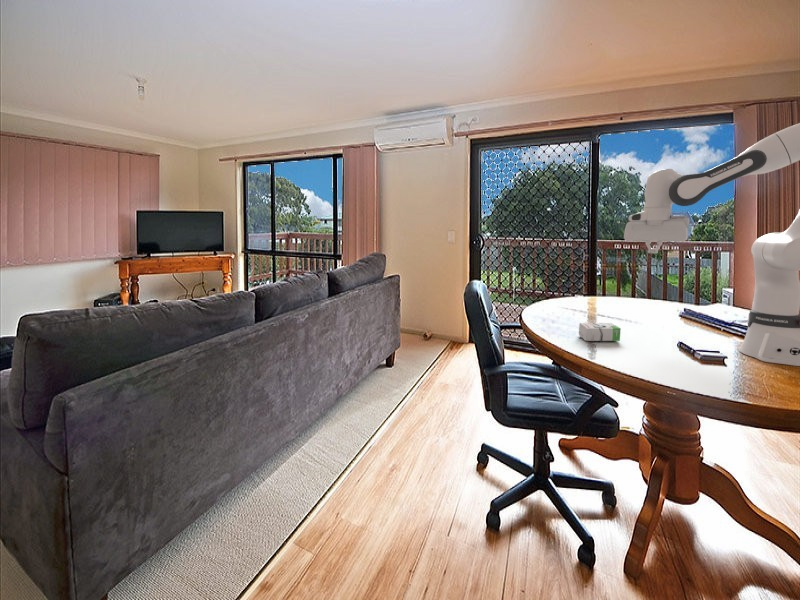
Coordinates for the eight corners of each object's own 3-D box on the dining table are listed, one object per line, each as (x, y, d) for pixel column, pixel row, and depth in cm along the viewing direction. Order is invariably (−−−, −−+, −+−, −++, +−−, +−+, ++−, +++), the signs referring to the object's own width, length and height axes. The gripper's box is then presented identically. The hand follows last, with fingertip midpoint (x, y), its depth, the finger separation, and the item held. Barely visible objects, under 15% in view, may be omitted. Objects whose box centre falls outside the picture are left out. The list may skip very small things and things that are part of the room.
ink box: (621, 328, 146) (587, 328, 147) (620, 341, 147) (586, 341, 148) (611, 322, 155) (578, 322, 156) (610, 335, 156) (578, 335, 157)
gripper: (692, 214, 147) (687, 253, 149) (628, 216, 160) (625, 251, 163) (688, 214, 142) (684, 255, 145) (624, 216, 156) (621, 252, 159)
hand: (652, 253), depth 154 cm, fingers closed
